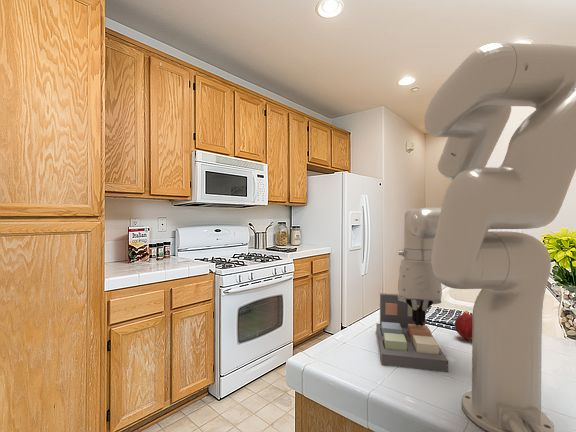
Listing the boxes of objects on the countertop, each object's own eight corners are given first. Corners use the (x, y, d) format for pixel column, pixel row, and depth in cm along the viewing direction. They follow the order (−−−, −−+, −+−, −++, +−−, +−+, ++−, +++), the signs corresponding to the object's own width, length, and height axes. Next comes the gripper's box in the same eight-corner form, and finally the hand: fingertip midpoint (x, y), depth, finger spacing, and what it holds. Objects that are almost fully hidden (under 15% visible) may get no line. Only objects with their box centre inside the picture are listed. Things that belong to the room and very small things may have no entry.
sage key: (406, 352, 71) (406, 342, 71) (385, 350, 72) (385, 340, 72) (403, 344, 75) (403, 334, 75) (383, 342, 77) (383, 332, 77)
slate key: (401, 339, 79) (401, 329, 79) (382, 337, 80) (382, 328, 80) (399, 332, 83) (399, 323, 83) (381, 330, 84) (381, 321, 84)
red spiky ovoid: (483, 344, 80) (484, 314, 80) (462, 344, 80) (462, 314, 80) (471, 335, 86) (471, 307, 86) (450, 335, 86) (450, 307, 86)
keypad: (448, 372, 66) (448, 319, 66) (381, 364, 69) (381, 314, 69) (427, 336, 85) (427, 295, 85) (376, 331, 89) (376, 292, 89)
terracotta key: (430, 341, 77) (431, 332, 77) (410, 340, 78) (410, 330, 78) (426, 334, 82) (426, 325, 82) (407, 332, 83) (407, 323, 83)
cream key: (439, 356, 69) (439, 345, 69) (416, 353, 70) (416, 343, 70) (434, 347, 74) (434, 337, 74) (413, 345, 75) (413, 335, 75)
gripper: (391, 256, 78) (390, 326, 78) (454, 258, 75) (453, 332, 75) (388, 252, 85) (387, 316, 85) (446, 254, 82) (445, 321, 82)
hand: (418, 323), depth 80 cm, fingers closed
